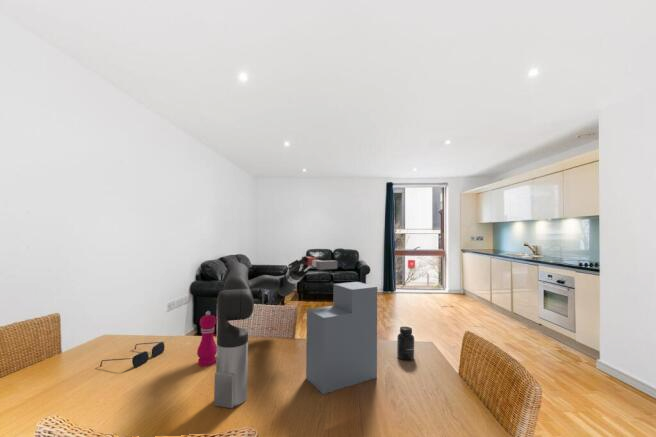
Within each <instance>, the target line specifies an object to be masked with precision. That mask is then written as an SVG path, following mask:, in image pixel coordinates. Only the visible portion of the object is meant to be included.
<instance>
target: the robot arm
mask: <svg viewBox="0 0 656 437" xmlns="http://www.w3.org/2000/svg"><path fill="white" fill-rule="evenodd" d="M302 257H303V258H302ZM302 257H301V259H296V260H294V261H292V262H291V263H289V264H287V265H288V270H287V272H286V273H285V274H283V275H277V276H275V275H268V274H262V275H258V276H256V277H254V278H251V279H249V272H250V271H249V268H248V267H247V265H246V264H244V263H242V262H238V261H232V262H231V263H229V264H228V266H227V268H226V270H225V273H224V274H223V278H222V280H221V282H222V284H223V290H220V291H219V292H218V294H217V297H216V298H217V299H216V316H217V317H216V324H217V332H216V333H217V336H216V346H217V353H216V362H215V363H216V364H215V366H216V369H215V371H216V372H214V385H213V386H214V389H213V390H214V392H213V395H214V396H213V406H217V407H221V408H226V409H228V408H229V409H233V408H234V407H237V406H239V405H241V404H243V403H244V402H245V401H247V398H248V368H249V366H248V365H249V364H248V361H249V360H248V358H249V356H248V355H249V354H248V353H249V333H248V331H247V330H246V329H244V328H243V327H242V328H241V327H237V326H235V325H234V324H233V325H232V324H231V321H240V320H242V321H243V320H247V319H249V318H250V317H251V316H252V315H253V311H254V309H255V308H254V307H255V306H254V304H255V302H254V296H253V293H252V290H266V291H272V292H274V291H277V290H278V294H279V295H280V296H281V297H288V296H290V295H291V294H292V293H293V292H294V290H295V286H296V284H297V283H298V282H301V280H302V279H303V278H304V277H305V276H306V274H307V272H308V271H309V270H310V269H313V270H315V269H316V267H314V266H309V265H305V264H304V263H305V262H306V261H307V255H304V256H302ZM311 257H314V258H316V256H315V255H311ZM229 321H230V322H229Z"/></svg>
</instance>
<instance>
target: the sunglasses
mask: <svg viewBox="0 0 656 437" xmlns="http://www.w3.org/2000/svg"><path fill="white" fill-rule="evenodd" d="M150 344H155V345H154V346H153V347H152V348H151V351H147V350H145V351H142V352H139V353H137V354H135V355H134V356H133V357H132V358H131V357H130V358H128V357H127V358H112V359H102V360H101V361H100V364H99V367H102V364H103V362H110V361H123V360H131V359H132V360H131V362H132V366H133V367H134V368H139V367H141V366H143V365H145V364H146V363H147V362H148V361H149V358H150V357H149V355H150V356H151V357H153V358H157V357H158V356H160V355H162V354H163V353H164V351H165V343H164V341H158V342H155V341H154V342H144V343H142V342H141V343H136V344H135V345H134V350H136V349H137V346H139V345H150Z"/></svg>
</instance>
